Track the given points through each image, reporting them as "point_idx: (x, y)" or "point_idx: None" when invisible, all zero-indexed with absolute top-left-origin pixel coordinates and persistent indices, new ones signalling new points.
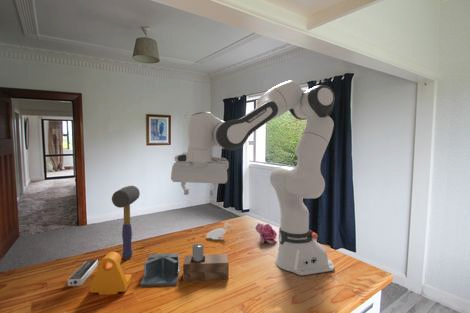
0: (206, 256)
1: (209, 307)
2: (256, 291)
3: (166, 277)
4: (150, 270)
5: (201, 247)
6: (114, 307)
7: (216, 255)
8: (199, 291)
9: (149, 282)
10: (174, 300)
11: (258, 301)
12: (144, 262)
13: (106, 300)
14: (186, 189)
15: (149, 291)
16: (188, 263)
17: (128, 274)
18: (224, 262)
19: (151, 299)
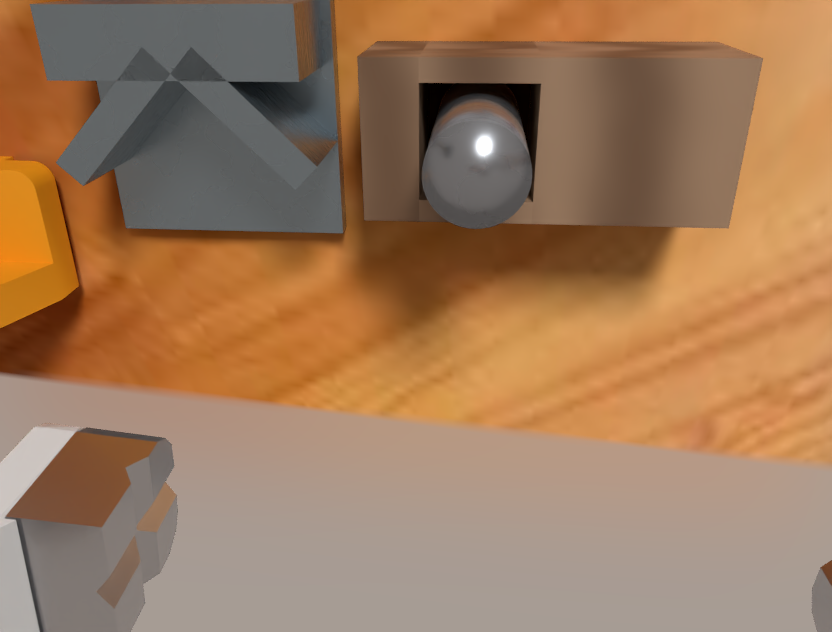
0: (554, 96)
1: (538, 427)
2: (827, 336)
3: (265, 169)
4: (133, 144)
5: (510, 215)
6: (94, 378)
7: (650, 82)
8: (490, 302)
9: (176, 219)
10: (362, 361)
11: (799, 415)
12: (61, 164)
13: (24, 325)
14: (36, 574)
15: (206, 273)
16: (404, 211)
17: (7, 173)
18: (695, 221)
19: (243, 341)
